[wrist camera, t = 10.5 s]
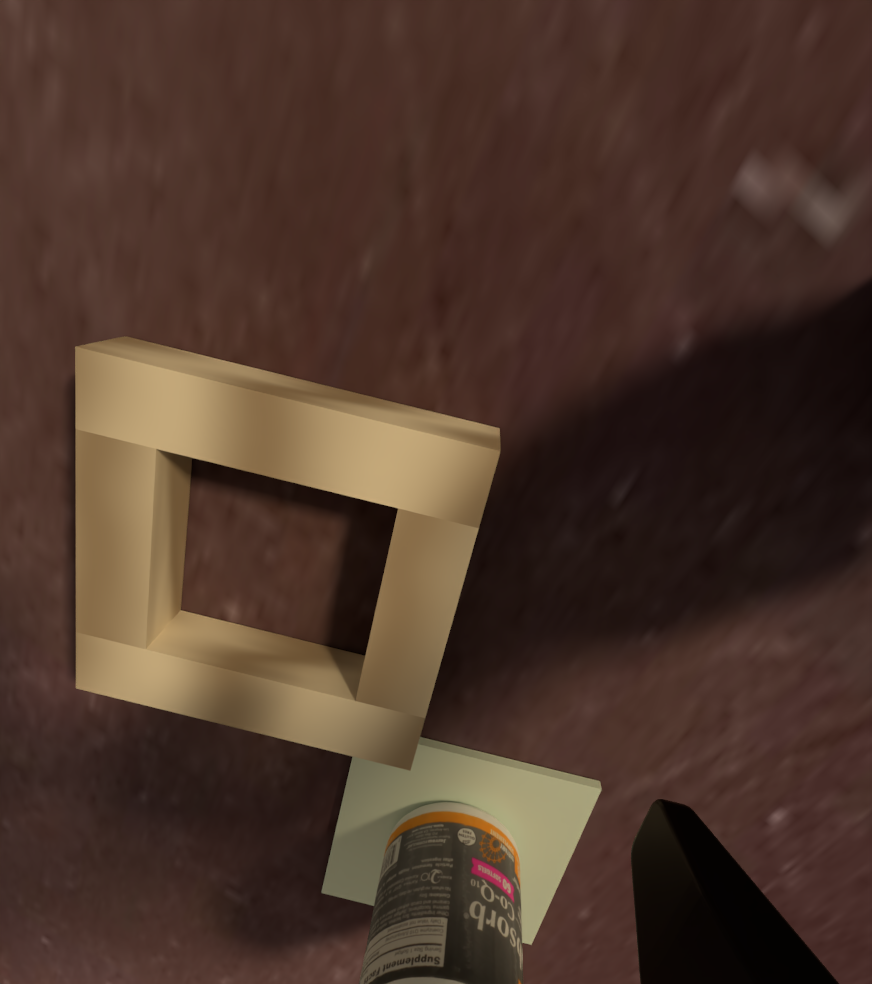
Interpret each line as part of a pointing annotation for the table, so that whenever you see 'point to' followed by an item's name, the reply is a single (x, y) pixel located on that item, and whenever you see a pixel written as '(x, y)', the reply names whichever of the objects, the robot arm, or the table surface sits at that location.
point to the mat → (472, 781)
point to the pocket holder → (287, 456)
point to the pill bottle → (447, 901)
